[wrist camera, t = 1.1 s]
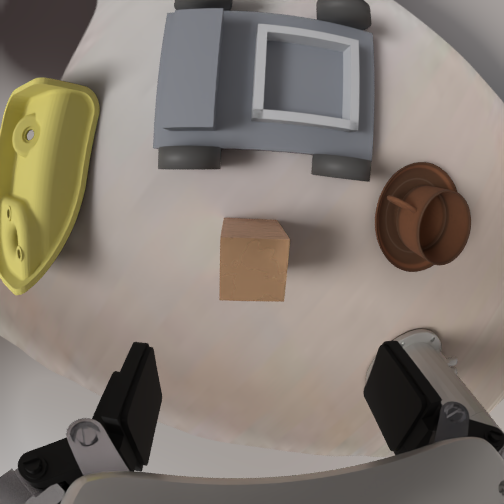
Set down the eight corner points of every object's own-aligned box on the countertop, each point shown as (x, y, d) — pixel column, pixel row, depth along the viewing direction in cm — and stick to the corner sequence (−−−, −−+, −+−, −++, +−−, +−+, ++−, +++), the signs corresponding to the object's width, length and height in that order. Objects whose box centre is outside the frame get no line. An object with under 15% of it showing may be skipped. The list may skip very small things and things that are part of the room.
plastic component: (9, 92, 19) (44, 73, 15) (58, 101, 26) (105, 91, 22) (-8, 269, 23) (22, 303, 20) (39, 259, 30) (79, 286, 27)
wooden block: (276, 219, 28) (290, 239, 21) (272, 268, 29) (283, 301, 22) (223, 217, 27) (220, 237, 21) (222, 267, 29) (219, 300, 22)
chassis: (365, 25, 21) (387, 6, 16) (363, 179, 27) (388, 184, 22) (172, 6, 20) (162, -19, 15) (156, 167, 25) (139, 170, 20)
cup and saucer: (361, 266, 30) (386, 290, 24) (372, 153, 26) (405, 155, 20) (441, 265, 31) (471, 284, 25) (455, 169, 27) (490, 175, 21)
